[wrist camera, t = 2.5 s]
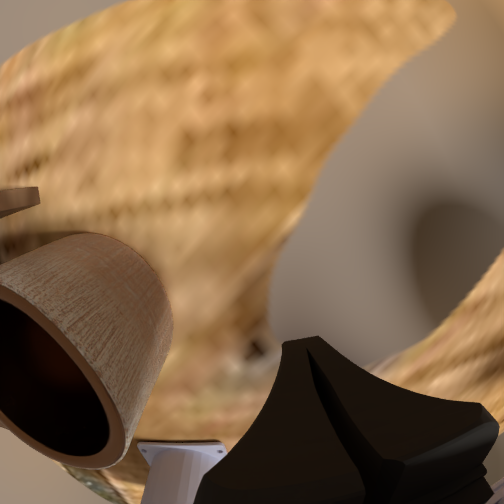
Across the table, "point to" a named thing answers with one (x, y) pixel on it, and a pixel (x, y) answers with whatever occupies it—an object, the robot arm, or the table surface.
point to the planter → (80, 347)
